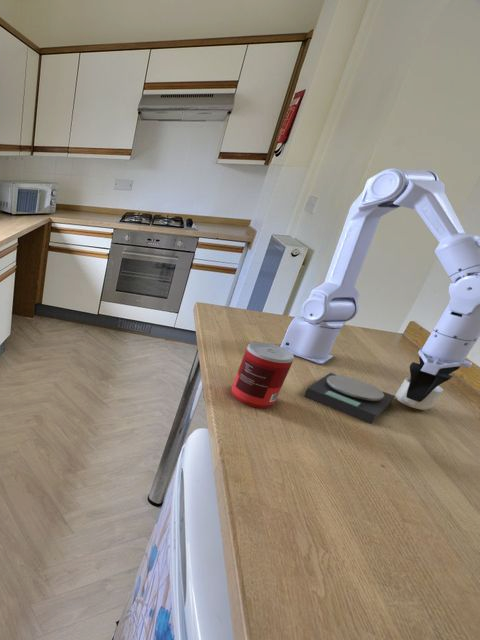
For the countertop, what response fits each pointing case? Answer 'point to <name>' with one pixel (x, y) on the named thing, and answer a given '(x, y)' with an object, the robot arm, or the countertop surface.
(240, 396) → the canned food
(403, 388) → the cup
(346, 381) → the scale pan
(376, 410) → the scale
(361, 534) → the countertop surface
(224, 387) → the countertop surface
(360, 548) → the countertop surface
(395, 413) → the countertop surface
